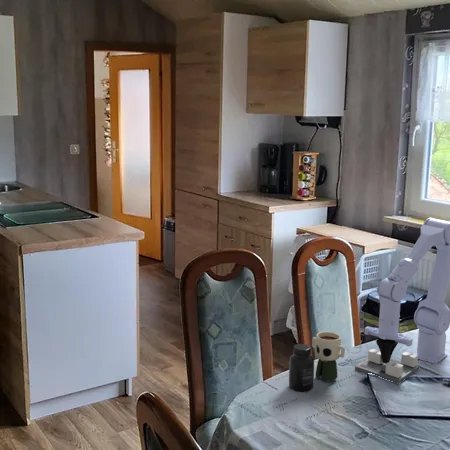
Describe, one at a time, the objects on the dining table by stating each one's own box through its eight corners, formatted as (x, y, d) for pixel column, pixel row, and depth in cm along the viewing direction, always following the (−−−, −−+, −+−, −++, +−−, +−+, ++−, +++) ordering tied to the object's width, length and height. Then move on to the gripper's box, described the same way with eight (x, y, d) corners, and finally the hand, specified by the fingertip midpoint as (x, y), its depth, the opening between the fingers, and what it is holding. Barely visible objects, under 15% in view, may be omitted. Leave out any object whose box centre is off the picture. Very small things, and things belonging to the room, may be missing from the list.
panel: (377, 356, 194) (377, 352, 194) (419, 369, 185) (419, 365, 185) (354, 369, 184) (355, 365, 184) (398, 384, 175) (398, 380, 175)
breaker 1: (389, 370, 180) (390, 360, 179) (402, 375, 177) (403, 364, 177) (385, 373, 178) (386, 363, 177) (398, 377, 175) (399, 367, 175)
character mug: (303, 376, 179) (305, 333, 176) (317, 369, 184) (320, 327, 182) (335, 388, 172) (337, 344, 169) (349, 380, 177) (351, 337, 174)
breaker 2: (404, 360, 187) (405, 351, 187) (417, 364, 185) (418, 354, 184) (401, 363, 185) (401, 353, 185) (413, 367, 183) (414, 357, 182)
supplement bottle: (312, 383, 175) (314, 343, 172) (313, 393, 168) (315, 352, 166) (288, 381, 175) (290, 341, 173) (288, 392, 169) (290, 351, 166)
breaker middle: (371, 357, 189) (372, 348, 188) (383, 361, 186) (384, 351, 186) (367, 360, 187) (368, 350, 187) (379, 364, 185) (380, 354, 184)
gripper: (360, 316, 184) (357, 359, 186) (406, 328, 174) (402, 373, 177) (372, 310, 189) (369, 352, 191) (417, 322, 179) (413, 366, 182)
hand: (385, 362), depth 185 cm, fingers closed
